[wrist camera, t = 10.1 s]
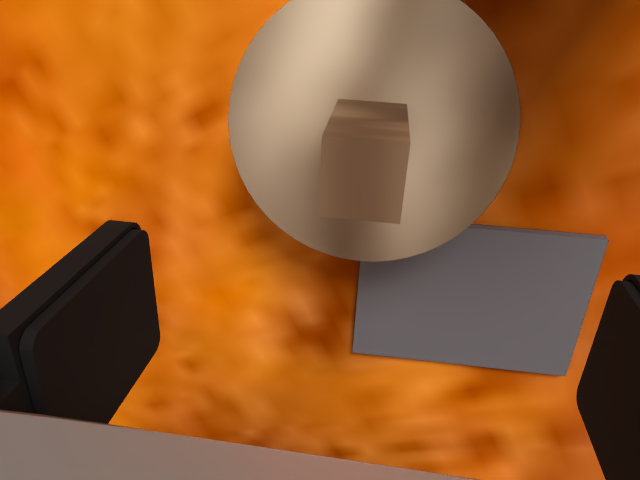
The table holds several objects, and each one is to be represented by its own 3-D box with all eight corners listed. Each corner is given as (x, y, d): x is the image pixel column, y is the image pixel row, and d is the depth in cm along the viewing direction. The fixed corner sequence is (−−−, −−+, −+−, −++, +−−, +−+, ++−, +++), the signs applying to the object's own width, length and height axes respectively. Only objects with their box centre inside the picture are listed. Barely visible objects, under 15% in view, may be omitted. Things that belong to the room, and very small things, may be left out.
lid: (547, -18, 21) (609, -13, 15) (485, 264, 27) (512, 350, 21) (230, -35, 23) (168, -37, 16) (236, 239, 29) (193, 313, 22)
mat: (605, 235, 31) (608, 240, 31) (562, 370, 36) (565, 376, 35) (364, 214, 32) (363, 218, 32) (353, 347, 37) (352, 352, 36)
